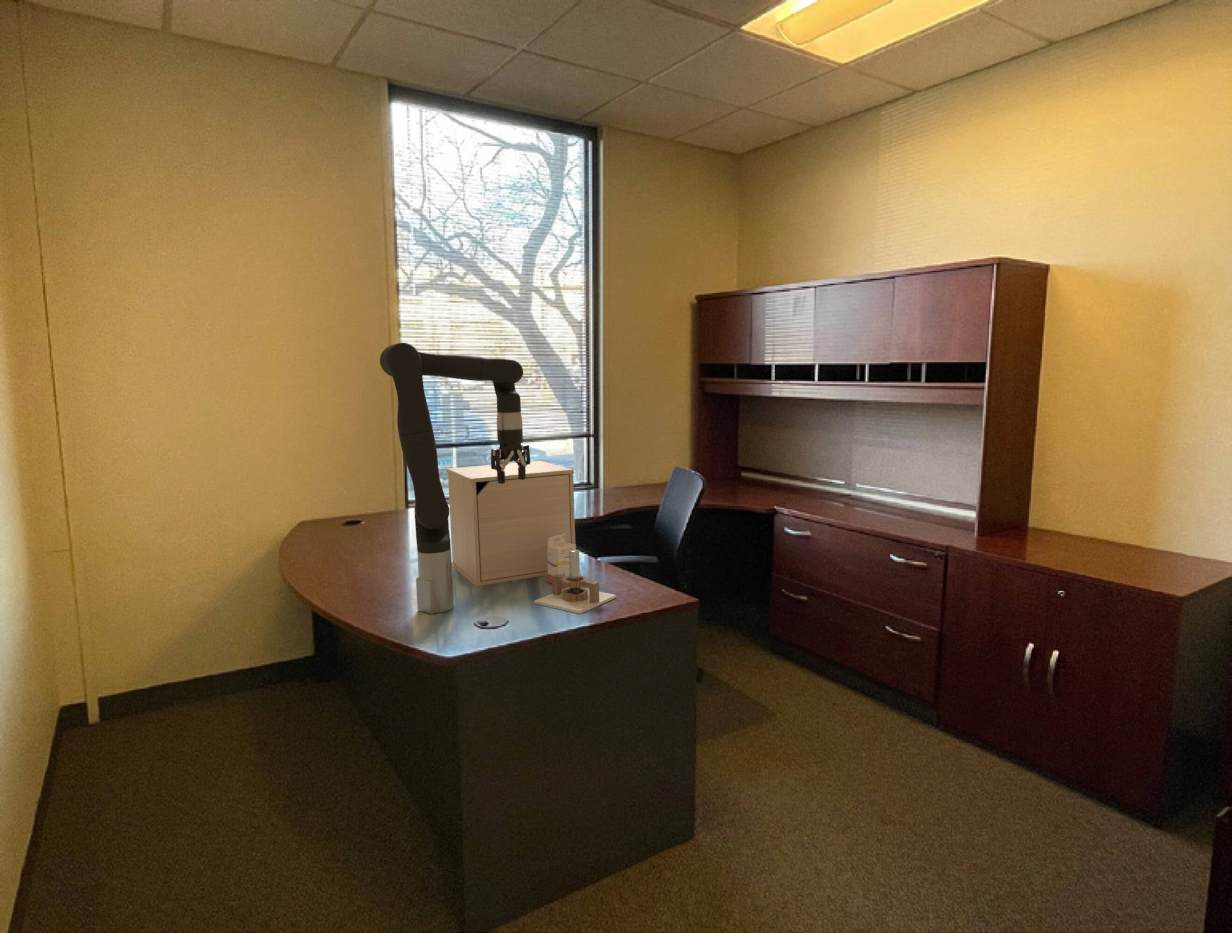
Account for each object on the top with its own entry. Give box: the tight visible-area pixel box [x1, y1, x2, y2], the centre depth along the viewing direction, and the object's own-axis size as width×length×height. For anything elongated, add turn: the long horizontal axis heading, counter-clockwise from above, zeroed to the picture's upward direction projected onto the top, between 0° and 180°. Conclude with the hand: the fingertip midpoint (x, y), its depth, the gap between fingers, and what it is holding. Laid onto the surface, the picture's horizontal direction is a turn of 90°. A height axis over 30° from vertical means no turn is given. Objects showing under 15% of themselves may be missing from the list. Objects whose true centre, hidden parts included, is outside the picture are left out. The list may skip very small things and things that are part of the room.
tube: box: [569, 549, 581, 594], centre depth 210 cm, size 3×3×14 cm
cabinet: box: [446, 460, 576, 587], centre depth 246 cm, size 35×29×34 cm
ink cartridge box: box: [547, 534, 577, 584], centre depth 230 cm, size 9×5×15 cm, turn 141°
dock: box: [533, 574, 617, 615], centre depth 210 cm, size 17×17×6 cm
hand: (511, 481), depth 216 cm, fingers open, 8 cm apart
